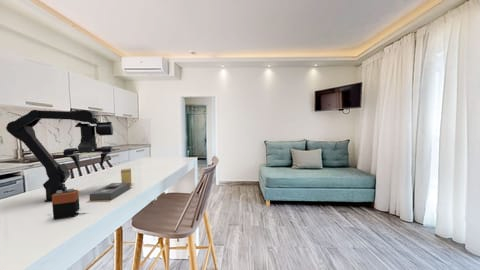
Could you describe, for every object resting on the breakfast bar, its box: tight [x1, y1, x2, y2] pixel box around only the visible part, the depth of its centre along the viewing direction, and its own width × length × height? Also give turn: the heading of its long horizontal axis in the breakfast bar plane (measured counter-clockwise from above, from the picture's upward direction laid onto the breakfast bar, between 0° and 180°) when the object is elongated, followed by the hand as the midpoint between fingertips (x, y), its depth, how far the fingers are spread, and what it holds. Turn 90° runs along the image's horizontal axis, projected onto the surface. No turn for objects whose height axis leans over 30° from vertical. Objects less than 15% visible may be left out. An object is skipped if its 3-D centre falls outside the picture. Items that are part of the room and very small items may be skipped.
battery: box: [51, 188, 81, 220], centre depth 78 cm, size 4×7×10 cm, turn 111°
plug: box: [120, 168, 133, 187], centre depth 110 cm, size 4×4×10 cm
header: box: [85, 182, 134, 204], centre depth 97 cm, size 10×20×5 cm, turn 1°
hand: (90, 168), depth 102 cm, fingers open, 9 cm apart
